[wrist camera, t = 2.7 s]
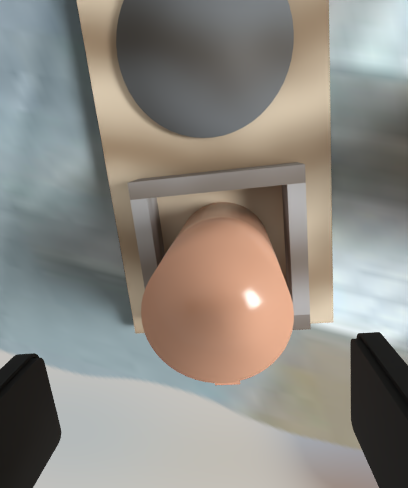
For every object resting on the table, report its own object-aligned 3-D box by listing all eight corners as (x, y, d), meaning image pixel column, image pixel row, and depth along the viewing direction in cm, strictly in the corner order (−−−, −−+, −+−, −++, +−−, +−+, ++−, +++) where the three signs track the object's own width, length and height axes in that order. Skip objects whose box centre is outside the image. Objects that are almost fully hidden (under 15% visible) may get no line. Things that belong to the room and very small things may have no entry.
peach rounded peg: (173, 206, 23) (129, 250, 13) (266, 197, 22) (290, 237, 13) (187, 312, 25) (158, 417, 15) (273, 307, 24) (298, 412, 15)
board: (76, -44, 21) (43, -83, 17) (321, -88, 19) (341, -141, 16) (139, 325, 27) (125, 352, 23) (328, 314, 25) (344, 341, 22)
